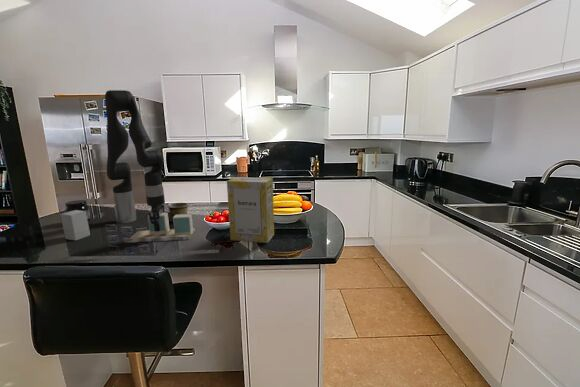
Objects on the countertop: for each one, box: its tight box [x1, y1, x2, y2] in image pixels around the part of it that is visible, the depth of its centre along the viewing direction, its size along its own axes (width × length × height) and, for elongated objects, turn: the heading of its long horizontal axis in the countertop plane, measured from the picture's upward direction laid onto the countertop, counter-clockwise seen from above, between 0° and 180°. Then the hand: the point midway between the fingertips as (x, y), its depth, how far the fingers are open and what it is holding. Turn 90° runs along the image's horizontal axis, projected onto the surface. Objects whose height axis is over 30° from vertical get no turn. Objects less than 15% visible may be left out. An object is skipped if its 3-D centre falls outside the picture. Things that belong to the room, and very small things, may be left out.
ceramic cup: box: [168, 202, 189, 221], centre depth 156 cm, size 13×10×10 cm
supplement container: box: [65, 199, 92, 223], centre depth 157 cm, size 10×10×12 cm
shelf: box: [123, 227, 197, 244], centre depth 133 cm, size 28×15×3 cm, turn 96°
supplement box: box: [59, 210, 91, 241], centre depth 135 cm, size 7×7×13 cm
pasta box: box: [226, 176, 275, 244], centre depth 130 cm, size 18×10×28 cm, turn 77°
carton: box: [147, 212, 170, 234], centre depth 132 cm, size 8×5×9 cm, turn 96°
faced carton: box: [172, 213, 194, 236], centre depth 134 cm, size 8×5×9 cm, turn 96°
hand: (159, 229), depth 133 cm, fingers closed on carton, 4 cm apart
